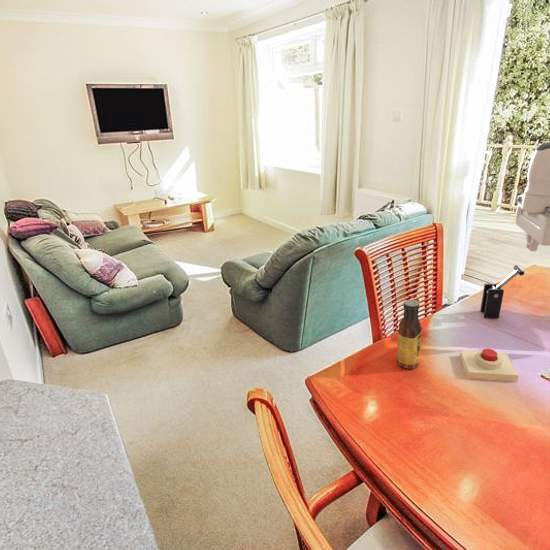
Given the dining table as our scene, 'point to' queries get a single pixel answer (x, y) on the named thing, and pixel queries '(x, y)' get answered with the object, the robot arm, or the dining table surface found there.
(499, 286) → the lever
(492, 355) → the button
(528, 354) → the dining table surface
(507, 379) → the control block
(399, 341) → the sauce bottle
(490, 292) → the bracket
